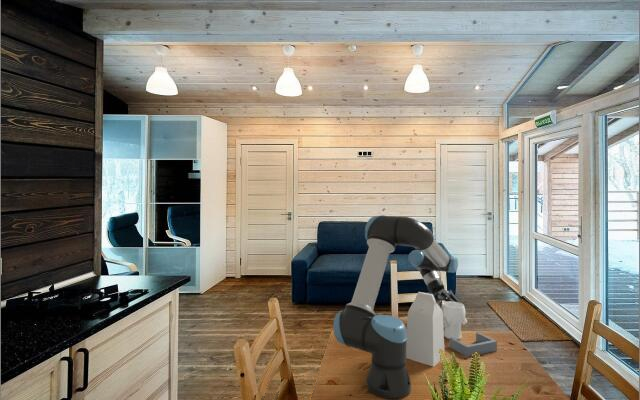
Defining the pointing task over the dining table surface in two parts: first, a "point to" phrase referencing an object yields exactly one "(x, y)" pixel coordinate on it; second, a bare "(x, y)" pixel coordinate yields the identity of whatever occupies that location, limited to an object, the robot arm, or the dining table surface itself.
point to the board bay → (474, 345)
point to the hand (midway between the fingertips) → (455, 324)
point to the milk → (424, 330)
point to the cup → (453, 318)
